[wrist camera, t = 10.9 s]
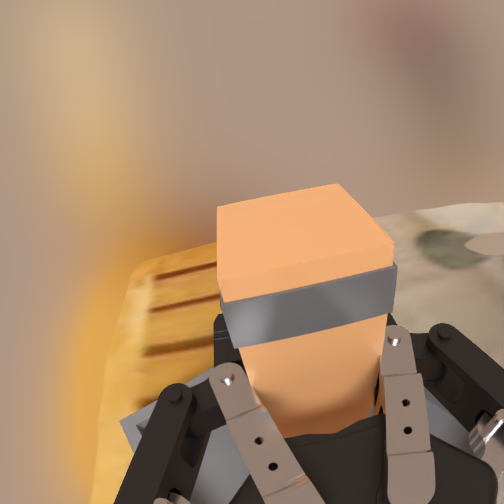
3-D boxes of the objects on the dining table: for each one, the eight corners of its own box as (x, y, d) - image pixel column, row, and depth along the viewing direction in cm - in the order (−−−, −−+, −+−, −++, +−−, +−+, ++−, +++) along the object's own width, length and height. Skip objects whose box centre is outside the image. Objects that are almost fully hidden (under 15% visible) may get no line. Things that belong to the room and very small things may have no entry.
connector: (268, 405, 18) (214, 206, 11) (341, 388, 18) (339, 181, 11) (278, 471, 14) (212, 283, 7) (362, 451, 14) (399, 243, 7)
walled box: (324, 324, 33) (322, 293, 31) (498, 438, 17) (521, 412, 14) (143, 443, 24) (119, 420, 22) (292, 636, 8) (285, 650, 5)
